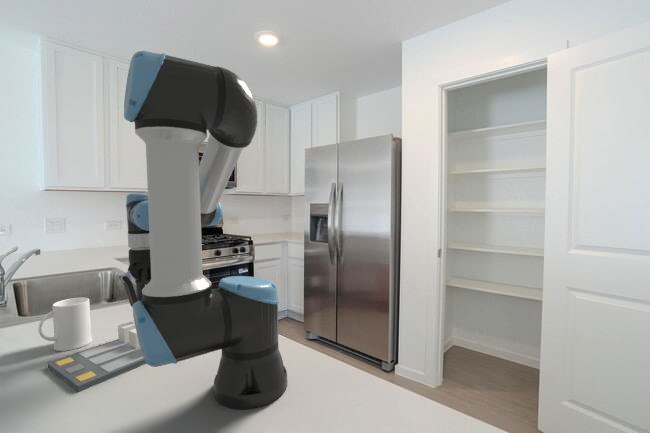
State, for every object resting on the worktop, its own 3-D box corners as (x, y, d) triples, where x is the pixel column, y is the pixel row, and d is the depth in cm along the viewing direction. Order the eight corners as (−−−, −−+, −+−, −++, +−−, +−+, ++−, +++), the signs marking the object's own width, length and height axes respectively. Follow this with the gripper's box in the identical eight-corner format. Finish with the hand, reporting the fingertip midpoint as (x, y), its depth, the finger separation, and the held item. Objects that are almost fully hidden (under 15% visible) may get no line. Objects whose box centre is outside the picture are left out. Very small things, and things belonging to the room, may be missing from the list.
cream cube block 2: (149, 343, 88) (149, 328, 88) (136, 348, 85) (135, 333, 85) (142, 340, 90) (142, 326, 90) (129, 345, 87) (128, 330, 87)
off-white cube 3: (138, 338, 92) (137, 324, 91) (124, 343, 89) (124, 328, 88) (131, 335, 94) (131, 321, 93) (118, 340, 91) (117, 325, 90)
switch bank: (176, 350, 87) (176, 345, 87) (78, 391, 69) (78, 385, 69) (141, 335, 97) (141, 331, 97) (47, 367, 79) (47, 362, 79)
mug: (45, 359, 83) (42, 312, 82) (33, 351, 88) (30, 306, 87) (98, 342, 93) (95, 300, 92) (84, 335, 97) (82, 295, 97)
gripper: (158, 244, 101) (161, 319, 103) (112, 249, 91) (116, 333, 92) (172, 245, 97) (175, 324, 99) (125, 252, 87) (129, 340, 88)
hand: (147, 328), depth 95 cm, fingers closed
